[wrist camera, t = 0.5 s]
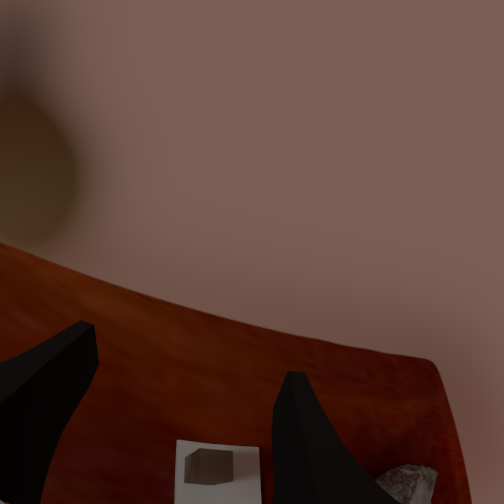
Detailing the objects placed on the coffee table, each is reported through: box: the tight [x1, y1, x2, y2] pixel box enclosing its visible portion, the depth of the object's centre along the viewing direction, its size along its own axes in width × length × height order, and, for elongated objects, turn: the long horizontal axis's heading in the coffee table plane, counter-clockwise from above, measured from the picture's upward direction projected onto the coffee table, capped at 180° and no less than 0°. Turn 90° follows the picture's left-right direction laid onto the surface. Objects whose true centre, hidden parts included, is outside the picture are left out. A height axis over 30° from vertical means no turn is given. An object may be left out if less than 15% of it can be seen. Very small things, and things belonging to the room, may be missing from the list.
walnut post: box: [184, 448, 234, 485], centre depth 21 cm, size 3×3×6 cm
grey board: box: [175, 440, 262, 504], centre depth 20 cm, size 12×8×4 cm, turn 2°
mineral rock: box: [374, 464, 438, 504], centre depth 25 cm, size 15×8×4 cm, turn 85°
